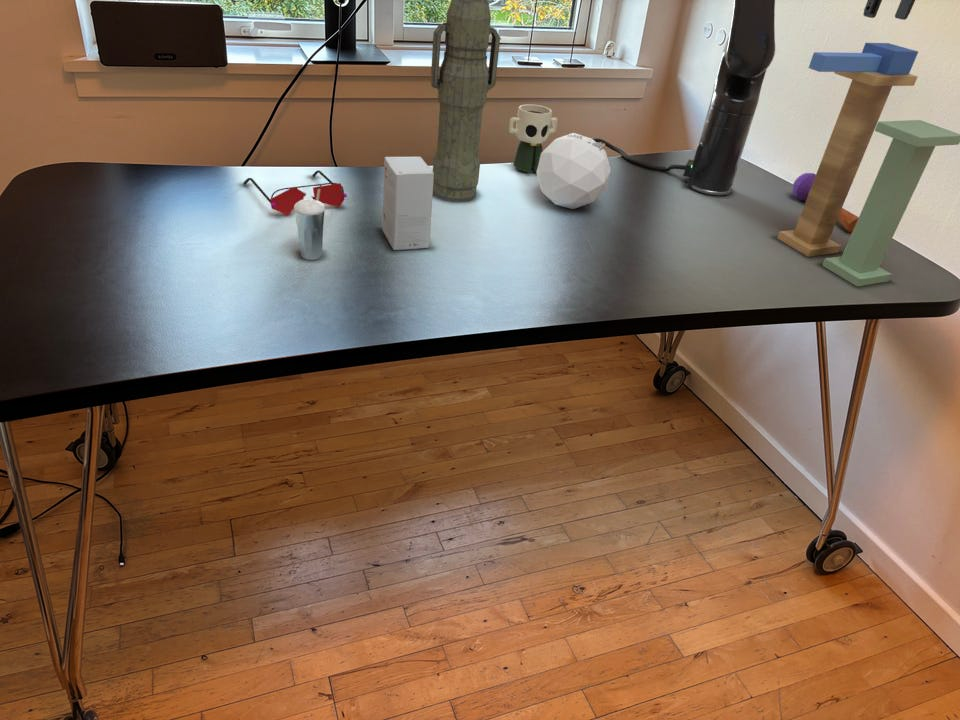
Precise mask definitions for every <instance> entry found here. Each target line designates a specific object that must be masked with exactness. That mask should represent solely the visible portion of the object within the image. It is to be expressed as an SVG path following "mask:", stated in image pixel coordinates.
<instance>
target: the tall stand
mask: <svg viewBox="0 0 960 720" xmlns="http://www.w3.org/2000/svg"><path fill="white" fill-rule="evenodd" d="M833 73H834V74H836V75H838V76H841V77H844V78H846V79H848V80H849V79H851V82H850V84H849V87H848V89H847V92H846V95H845V98H844V100H843V103H842V106H841V108H840V110H839V114H838V116H837V119H836V122H835V123H834V126H833V129H832V132H831V134H830V137H829V139H828V142H827V145H826V148H825V150H824V153H823V155H822V158H821V160H820V163H819V165H818V169H817V171H816V173H815V174H816V176H815V179H814V181H813V184H812V187H811V189H810V192H809V194H808V197H807V200H806V201H804V205H803V208H802V210H801V213H800V215H799V218H798V220H797V224H796V225H795V229H789V230H788V229H787V230H781V231H779V233H778V235H777V238H776V239H777V240H779V241H781V242H782V243H784V244H785V245H787V246H789V247H791V248H792V249H794V250H795V251H797V252H799V253H801V254H802V255H803V256H805V257H807V258H809V257H817V256H823V255H824V256H825V255H833V254H838V253H839V252H840V250H841V248H842V245H841V244H840V243H838V242H836V241H835V240H832V239H831V235H832V233H833V231H834V228H835V226H836V225H837V224H836V223H837V221H838V216H839V214H840V211H841V209H842V208H844V204H845V202H846V199H847V198H848V195H849V191H850V190H851V187H852V185H853V182H854V180H855V177H856V175H857V173H858V171H859V168H860V166H861V163H862V161H863V158H864V156H865V153H866V152H867V149H868V146H869V143H870V141H871V139H872V137H873V134H874V132H875V128H876V126H877V123H878V122H879V120H880V117H881V115H882V112H883V110H884V107H885V105H886V103H887V100H888V98H889V96H890V93H891V90H892V88H893V87H911V86H912V87H913V86H914V87H915V84H916V82H917V80H918V75H915V74H912V73H909V75H885V74H882V73H879V72H833Z"/></svg>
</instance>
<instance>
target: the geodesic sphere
mask: <svg viewBox="0 0 960 720" xmlns="http://www.w3.org/2000/svg"><path fill="white" fill-rule="evenodd" d="M601 143H602V142H600V143H599V142H595V141H594V140H593V138H591V137H587V136H585V135H582V134H578V133H575V132H572V133H569V134H568V133H567V134H566V135H562V136H559V137H557V138H555V139H554V140H553V141H552V142H551V143H550V144H549V145H547V146H546V147H545V149H543V150H542V153H541V155H540V160H539V164H538V168H537V172H535V173H536V177H537V181H538V185H539V188H540V189H539V190H540V192H541V193H542V194H543V195H545V196H546V198H548V199H549V200H550V201H551V202H552V203H553V204H554V205H556V206H559V207H563V208H566V209H570V210H575V209H577V208H580V207H584V206H586V205H589V204H592V203H593V202H594V201H595V200H596V199H597V198H598V197H599V196H600V195H601V194H602V193H603V192H605V190H606V187H607V184H608V181H609V178H610V174H611V171H612V170H611V166H610V162H609V158H608V155H607V151H606V150H605V147H606V146H605V144H604V143H602V144H601Z"/></svg>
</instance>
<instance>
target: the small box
mask: <svg viewBox="0 0 960 720" xmlns="http://www.w3.org/2000/svg"><path fill="white" fill-rule="evenodd" d="M383 162H384V164H383V194H382V196H383V197H382V223H381V224H382V228H381V230H382V232H383V234H384V235H385V238H386V239H387V241H388V243H389V245H390V247H391V249H392V250H393V251H403V250H405V251H406V250H418V249H428V248H430V243H431V229H432V228H431V226H432V213H433V211H432V210H433V198H434V197H433V196H434V194H433V182H434V173H433V169H431V168H430V167H429V165H428V164H427V163H426V162H425V160H424V159H423V158H422V156H384V161H383Z"/></svg>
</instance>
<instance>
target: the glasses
mask: <svg viewBox="0 0 960 720" xmlns="http://www.w3.org/2000/svg"><path fill="white" fill-rule="evenodd" d="M318 174H320V175H321V176H322V177H323V178H324V179H325V180H326V181H327V182H325V183H317V184H316V183H315V184H308V185H301V186H300V185H299V186H292V187H290V186H289V187H284V188H278V189H277V190H275V191H273V192H272V194H271V196H270V197H269V196H268V195H267V193H266V192H265V191H264V190H263V189H262V188H261V187H260V186H259V184H258V183H257V182H256V181H255V180H254V178H252V177H248V178H246V179H245V180H244V181H243V183H242V184H243V185H244V186H245V185H247V184H248V183H249V182H251V183H252V184H253V185H254V186H255V187H256V189H257V190H258V191H259V192H260V193H261V195H262V196H263V197H264V198H265V199H266V201H268V202H269V203H270V207H271V210H275V211H276V212H279V213H282V214H283V215H286V216H289V215H290V214H291V213H292V211H294V205H295V204H296V203H297V202H299V201H300V200H302V199H304V198H305V197H306V196H307V193H305V192H304V191H302V190H301V188H309V187H312V191H313V195H311V196H310V197H311V198H312V200H316V197H317V191H318V189H321V190H320V196H319V201H320V202H321V203H323V204H324V205H329V206H334V207H338V208H340V207H341V205H342V204H343V202H344V201H345V198H347V197H348V195H347V193H345V189H344V186H343V185H342V183H341V182H339V183H337V182H333V181H332V180H331V179H330V178H329V177H328V176H326V175H325V173H323V172H322V171H321V170H316V171H314V172H313V174H312V177H313V178H315V177H316V176H317V175H318ZM280 191H283V192H281V193H279V194H277V195H275V194H276V193H277V192H280ZM274 195H275V196H274Z"/></svg>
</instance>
